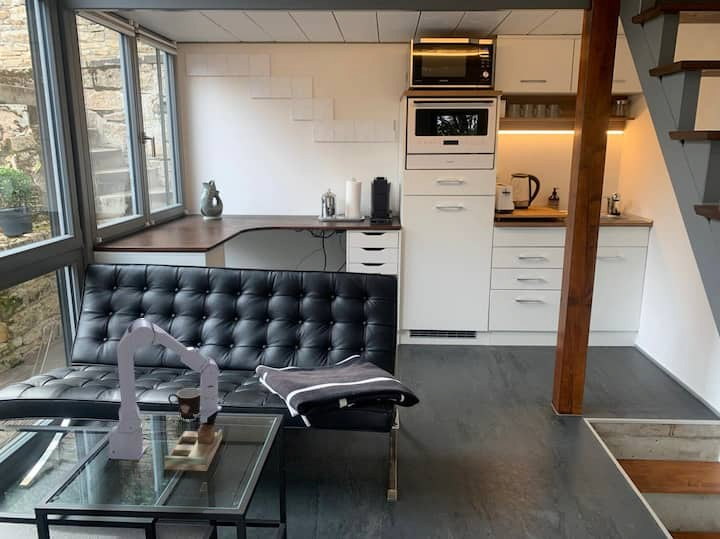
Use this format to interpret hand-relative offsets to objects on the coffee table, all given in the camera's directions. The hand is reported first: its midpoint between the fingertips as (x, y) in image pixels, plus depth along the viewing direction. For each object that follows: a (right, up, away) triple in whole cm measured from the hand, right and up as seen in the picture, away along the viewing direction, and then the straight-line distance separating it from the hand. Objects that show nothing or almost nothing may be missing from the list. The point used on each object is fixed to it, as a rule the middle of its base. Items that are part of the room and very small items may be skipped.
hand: (209, 432), depth 185 cm
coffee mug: (-13, +1, +16) cm, 20 cm away
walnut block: (0, -2, -4) cm, 4 cm away
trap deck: (-3, -5, -8) cm, 9 cm away
